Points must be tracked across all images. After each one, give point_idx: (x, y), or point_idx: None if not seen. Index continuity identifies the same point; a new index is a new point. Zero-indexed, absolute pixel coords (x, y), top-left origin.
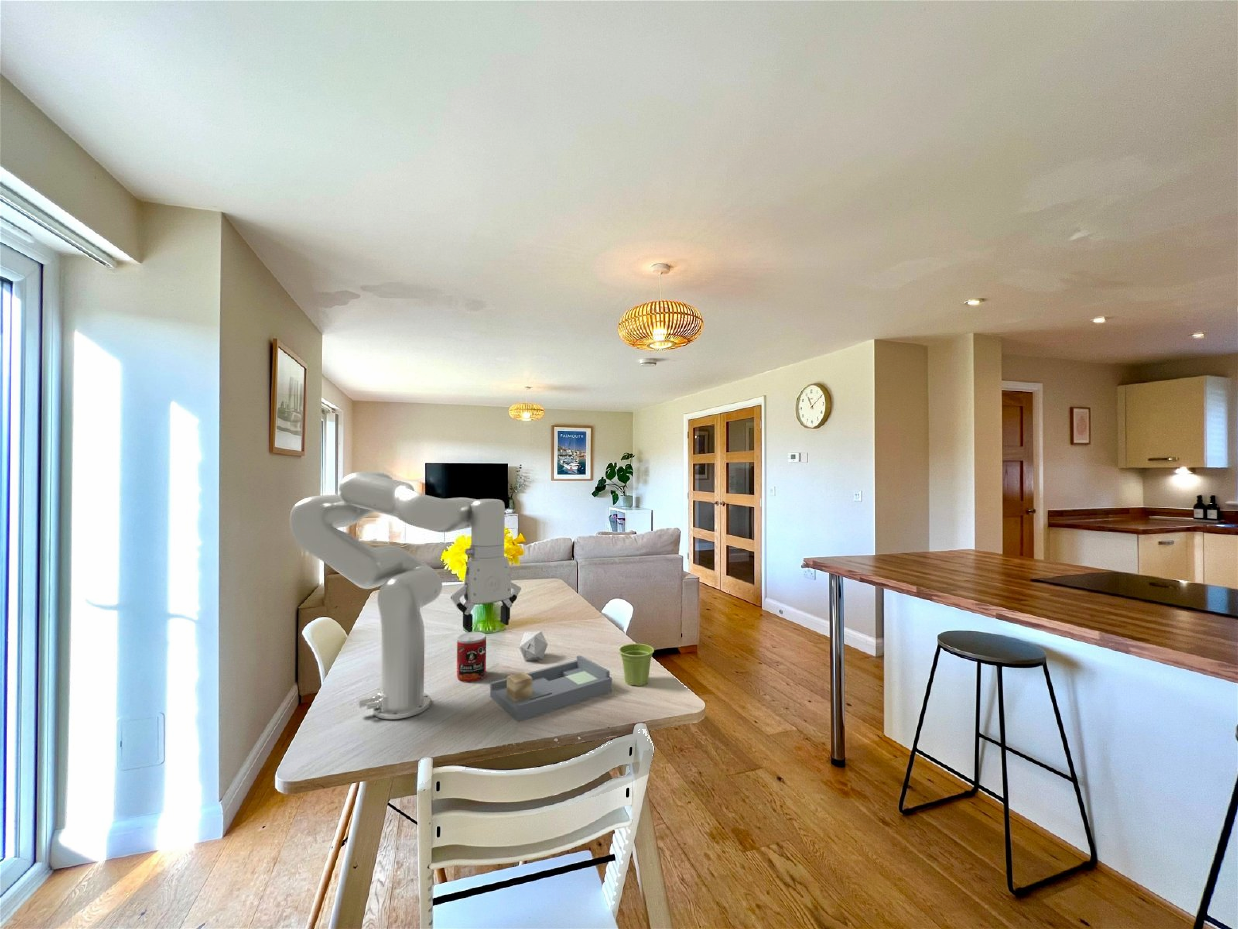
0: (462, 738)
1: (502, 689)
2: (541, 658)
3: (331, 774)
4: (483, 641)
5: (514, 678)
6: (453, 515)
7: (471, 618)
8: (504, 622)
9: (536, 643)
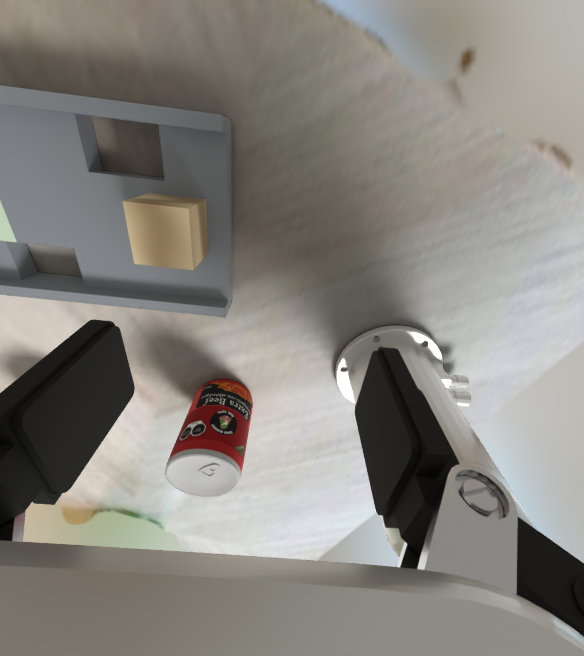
0: (386, 150)
1: (205, 287)
2: None
3: None
4: (182, 448)
5: (178, 238)
6: None
7: (418, 419)
8: (114, 348)
9: None
